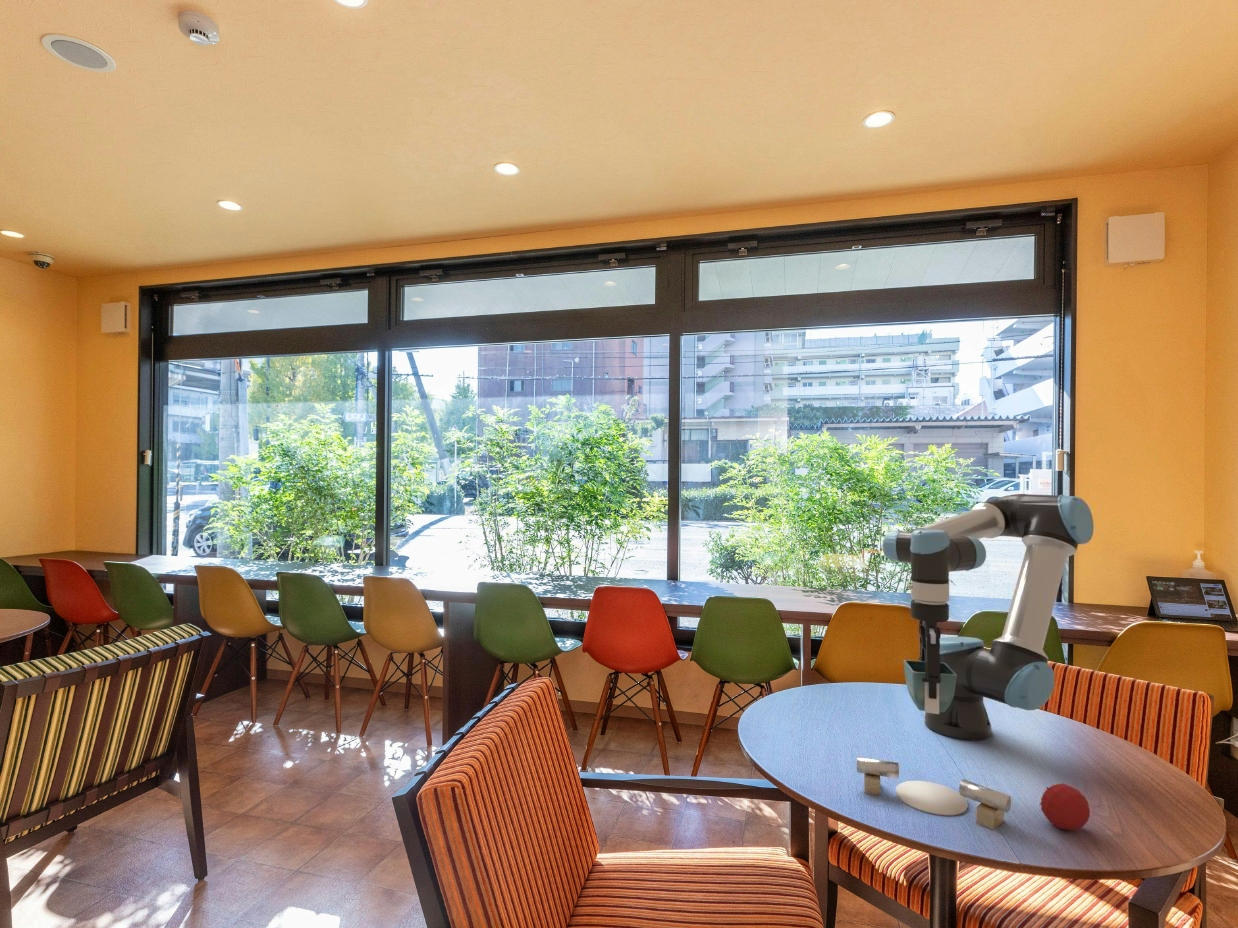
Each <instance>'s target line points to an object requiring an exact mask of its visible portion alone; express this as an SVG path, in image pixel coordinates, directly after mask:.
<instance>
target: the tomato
mask: <svg viewBox="0 0 1238 928" xmlns="http://www.w3.org/2000/svg"><path fill="white" fill-rule="evenodd" d="M1039 806H1040V809H1041V812H1042V814H1043V815H1044V816H1045V818H1046V819H1047V820H1048V822H1049V823H1050V824H1052V825H1054V826H1056V827H1057V828H1059V829H1061V830H1064V831H1070V830H1071V831H1075V830H1079V829H1081V828H1083V827H1085V825H1086V824H1087V823H1088V821H1089V819H1090V817H1091V814H1090V813H1091V811H1090V810H1091V809H1090V805H1089V802H1088V800H1087V798H1086V797H1085V796H1084V794H1082V793H1081V791H1080V790H1079V789H1077V788H1075V787H1073V786H1071V785H1068V784H1066V783H1056V784H1053V785H1051V786H1049V787H1048V786H1046V790H1044V792H1043V793H1042V796H1041V800H1040V803H1039Z"/></svg>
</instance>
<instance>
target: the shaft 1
mask: <svg viewBox="0 0 1238 928" xmlns="http://www.w3.org/2000/svg"><path fill="white" fill-rule="evenodd" d="M856 773H858V774H859V773H860V774H863V782H864V783H863V786H864V788H863V791H864V794H870V795H875V796H881V777H885V778H892V779H897V780H900V764H899V762H896V761H895V762H894V761H890V760H882V759H875V758H869V757H863V756H856Z"/></svg>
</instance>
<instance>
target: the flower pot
mask: <svg viewBox="0 0 1238 928" xmlns="http://www.w3.org/2000/svg"><path fill="white" fill-rule="evenodd" d="M903 669H904V676H905V677H904V679H905V684H906V687H907V691H908V693H909V695H910V698H911V700H912V702H913V704H914V705H915V706H916V708H917V709H918V710H919V711H922V712H923V711H924V712H925V682H922V678H926V671H925V661H920V660H910V659H907V660H906V659H904V660H903ZM935 677H936V676H935ZM956 677H957V674H956V673H955V672H954V671H953V670H952V669H951V668H950V667H949V666H948V665H947V664H946V663H941V662H940V679H941V683H939V712H945V711H946V710H947V708H948V707H949V706H950V704H951V702H952V700H953V697H954V691H955V685H956Z"/></svg>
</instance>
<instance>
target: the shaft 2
mask: <svg viewBox="0 0 1238 928" xmlns="http://www.w3.org/2000/svg"><path fill="white" fill-rule="evenodd" d="M958 793H959V794H960V795H961V796H963V797H964V798H965V799H969V800H972V801H975V802H978V803H979V804H978V805H977V806H976V807H975V808H976V818H975V819H976V821H975V822H976V824H978V825H981V826H983V827H986V828H988V829H990V830H995V829H996V828H998V827H999V826H1000V825H1001V824H1002V823H1003V822H1004V821H1005V813H1006V814H1007V813H1009V812H1010V811H1011V806H1012V798H1011V796H1010V795H1008V794H1006V793H1003V792H1000V791H998V790H994V789H993V788H992V789H991V788H989V787H986V786H984V785H980V784H977V783H975V782H972V781H969V780H966V779H962V780H960V782H959V791H958Z"/></svg>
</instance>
